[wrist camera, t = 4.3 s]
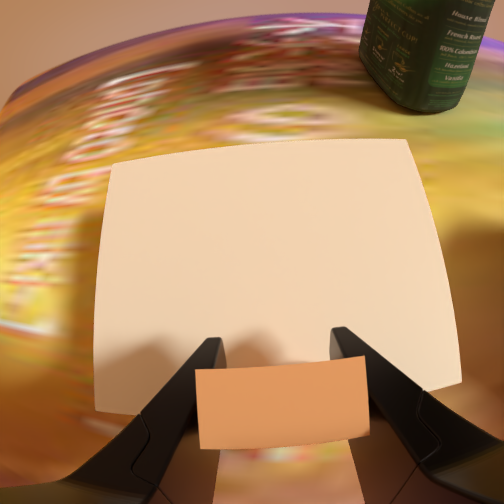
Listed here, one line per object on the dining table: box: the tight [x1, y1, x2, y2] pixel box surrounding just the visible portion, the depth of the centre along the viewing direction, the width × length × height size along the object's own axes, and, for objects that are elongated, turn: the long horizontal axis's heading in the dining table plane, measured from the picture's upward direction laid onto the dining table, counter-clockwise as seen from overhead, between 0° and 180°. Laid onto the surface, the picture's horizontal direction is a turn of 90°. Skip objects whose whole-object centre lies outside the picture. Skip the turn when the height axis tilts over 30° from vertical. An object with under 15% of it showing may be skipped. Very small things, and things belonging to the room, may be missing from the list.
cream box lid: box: [93, 139, 462, 449], centre depth 9 cm, size 11×14×6 cm
